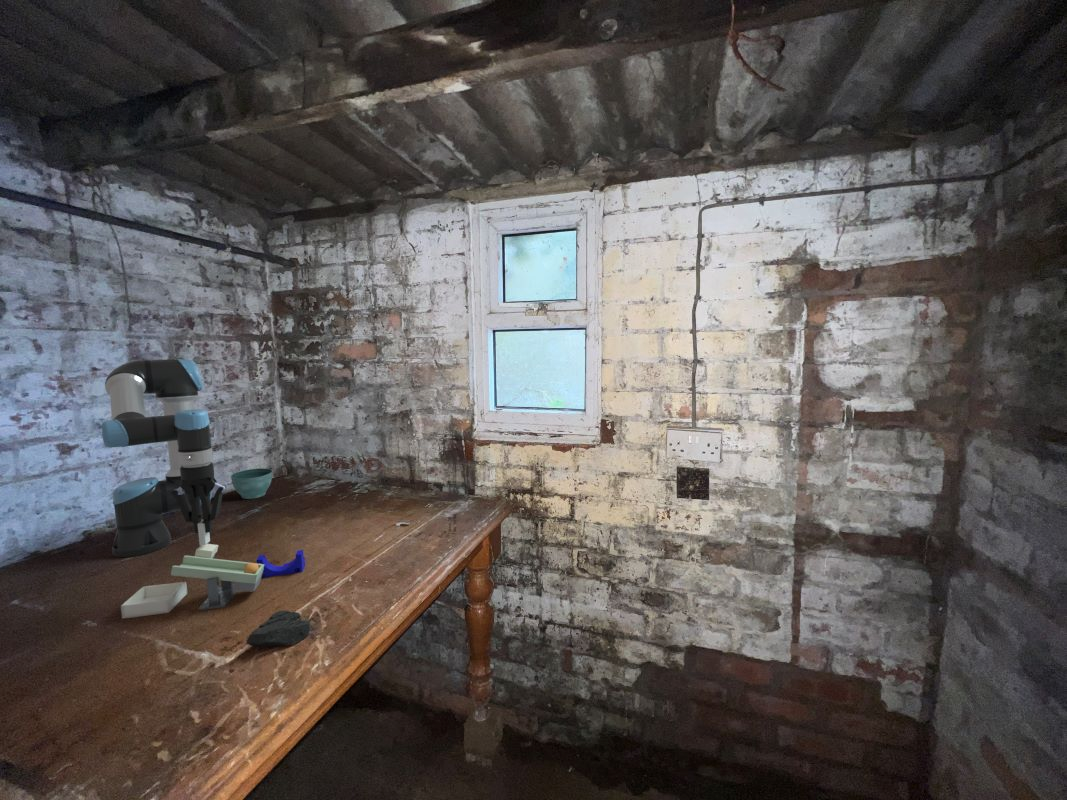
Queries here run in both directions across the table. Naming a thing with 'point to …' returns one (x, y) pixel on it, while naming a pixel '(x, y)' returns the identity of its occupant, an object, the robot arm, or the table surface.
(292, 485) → the table surface
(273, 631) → the rock
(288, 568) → the cable clip
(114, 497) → the robot arm
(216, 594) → the pivot stand
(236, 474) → the flower pot
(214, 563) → the lever
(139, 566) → the table surface
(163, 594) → the open white tray
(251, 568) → the ball
